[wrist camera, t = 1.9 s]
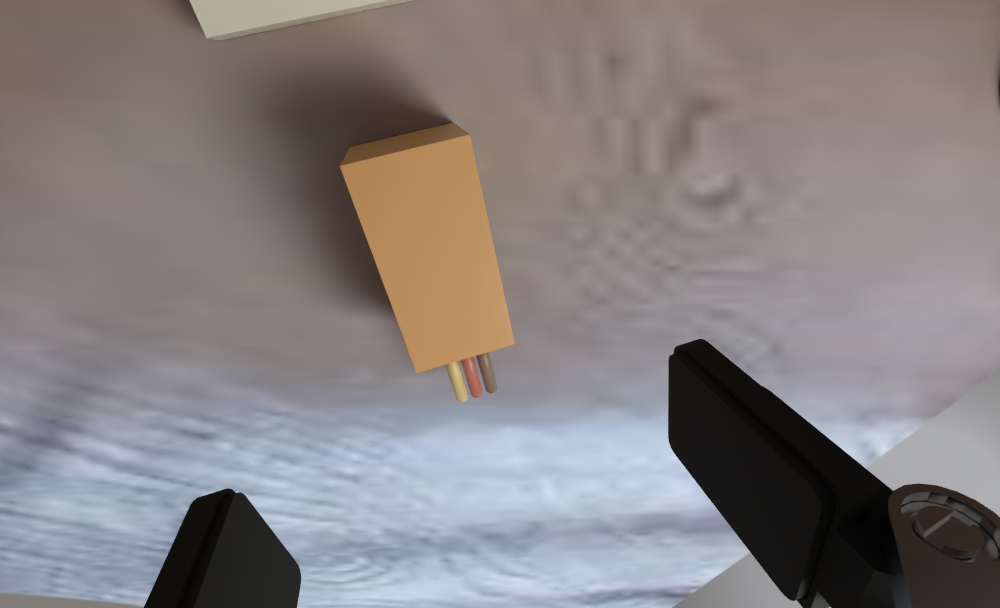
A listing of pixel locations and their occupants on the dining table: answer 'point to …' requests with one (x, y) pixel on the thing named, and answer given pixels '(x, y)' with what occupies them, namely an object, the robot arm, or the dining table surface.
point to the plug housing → (433, 249)
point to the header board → (271, 14)
